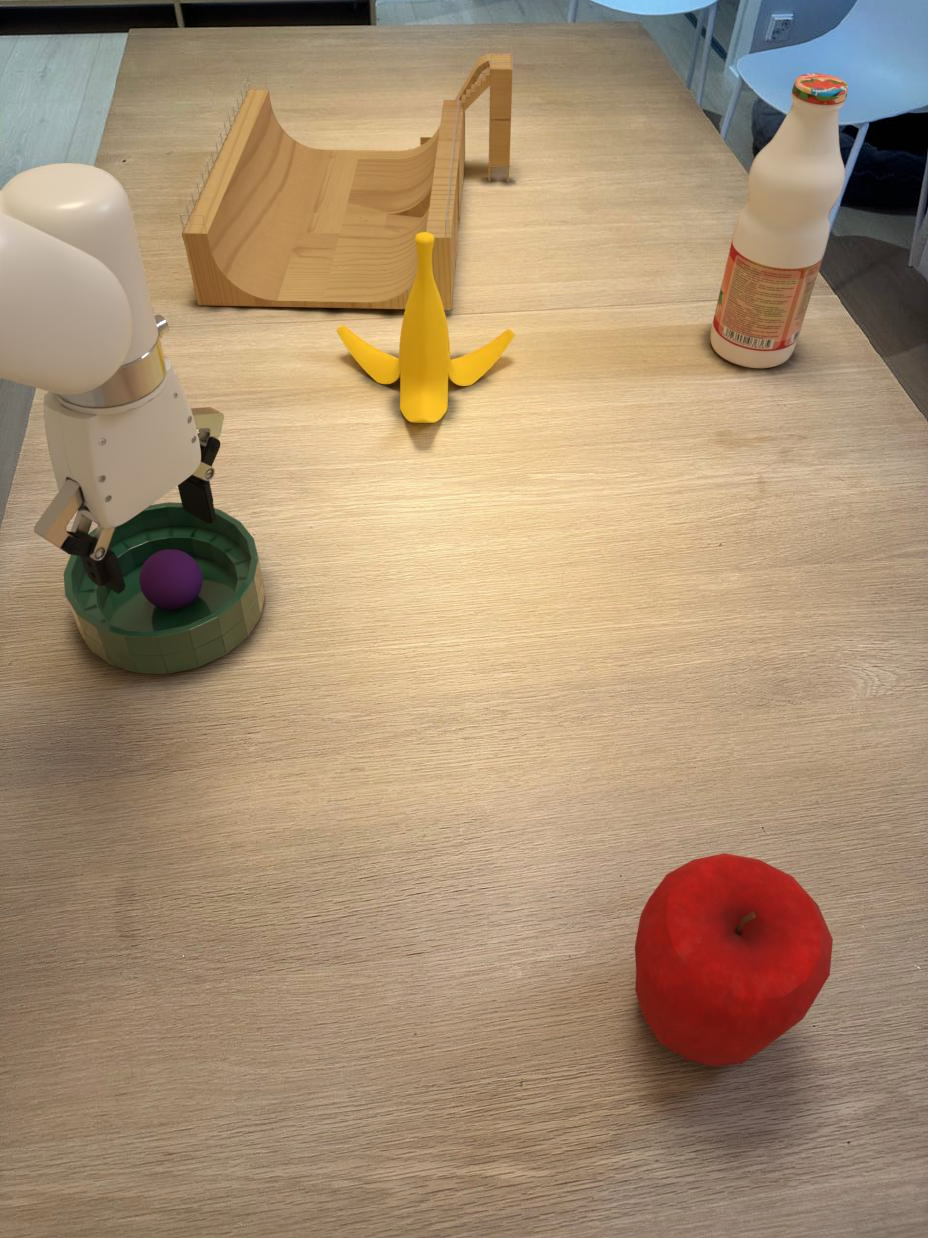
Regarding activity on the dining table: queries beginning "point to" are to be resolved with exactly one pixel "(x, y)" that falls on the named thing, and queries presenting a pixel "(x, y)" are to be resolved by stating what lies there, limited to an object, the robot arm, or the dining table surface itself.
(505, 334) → the banana peel
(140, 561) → the bowl
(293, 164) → the skate ramp
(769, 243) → the milk bottle
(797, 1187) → the dining table surface
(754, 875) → the apple
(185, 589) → the ball
